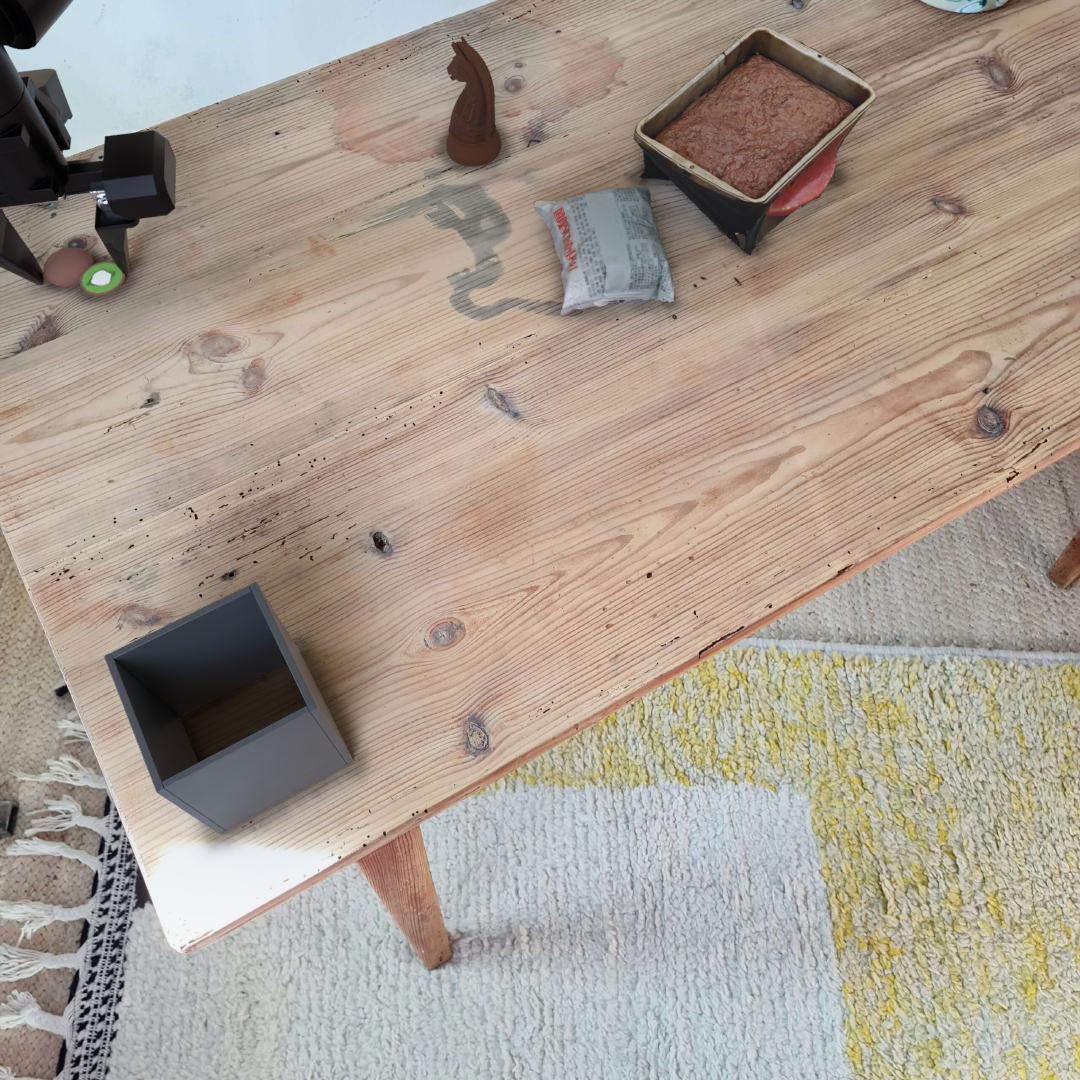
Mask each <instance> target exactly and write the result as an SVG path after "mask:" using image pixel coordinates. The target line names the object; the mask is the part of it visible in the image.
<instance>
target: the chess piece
mask: <svg viewBox="0 0 1080 1080" xmlns="http://www.w3.org/2000/svg"><path fill="white" fill-rule="evenodd" d="M450 46H451V48H452V49H453V52H454V53H455V55H454V56H453V57H452V60H451V61H450V62H449V64H448V65H447V67H446V71H447V74H448V76H449V79H450V80H451V81H457V82H460V83H465V86H464V88H463V89H462V91H461V93H459V96H458V97H457V99H456V101H455V103H454V106H453V108H452V111H451V114H450V122H449V126H448V134H447V137H446V150H447V151H446V153H447V155H448V157H449V158H450V159H451V161H453V162H454V163H456V164H458V165H461V166H462V167H463V166H464V167H469V168H475V167H482V166H485V165H488V164H490V163H492V162H493V161H495V160H496V159H497V158H498V156H499V155H500V153H501V150H502V145H501V144H502V142H501V137H500V134H499V132H498V130H497V125H496V106H495V103H496V96H495V93H496V92H495V85H494V80H493V78H492V75H491V72H490V70H489V67H488V65H487V63H486V62H485V60H484V59H483V57H482V56H481V54H480V53H479V52H478V51H477V50H476V49H475V48H474V47H473V46H472V45H470V44H469V43H468V41H467V40H466V39H465V37H464V35H462V36H460V40H459V41H458V40H457V41H452V42H451V44H450Z"/></svg>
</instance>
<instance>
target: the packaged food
mask: <svg viewBox="0 0 1080 1080" xmlns="http://www.w3.org/2000/svg"><path fill="white" fill-rule="evenodd" d="M651 205H652V194H651V190H650V188H649V187H648V186H630V187H629V186H628V187H618V188H615V187H609V188H605V189H601V190H597V191H590V192H587V193H582V194H579V195H574V196H570V197H566V198H563V199H560V200H558V201H557V200H537V201H535V203H534V207H533V209H534V211H535V212H536V213H537V214H538V216H539V217H540V218H541V219H542V221H544V223H545V224H546V227H547V228H548V229H549V231H550V235H551V237H552V241H553V246H554V249H555V253H556V255H557V256H556V257H557V258H558V260H559V263H560V265H561V266H562V269H561V273H560V278H561V284H562V289H563V293H564V296H563V301H562V307H561V311H560V316H565V315H567V314H568V313H570V312H571V311H573V310H579V311H581V310H585V309H587V308H592V307H593V308H594V307H598V308H600V307H604V306H607V305H608V304H613V303H618V304H619V303H620V304H621V303H622V304H623V303H625V302H630V301H634V300H642V301H648V300H655V302H658V301H661V302H668V303H669V304H670V303H671V302H674V301H675V300H676V289H675V284H674V280H673V275H672V272H671V268H670V265H669V260H668V258H667V254H666V251H665V248H664V245H663V242H662V239H661V236H660V233H659V231H658V230H659V229H658V224H657V221H656V218H655V215H654V212H653V210H652V207H651Z"/></svg>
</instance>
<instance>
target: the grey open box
mask: <svg viewBox="0 0 1080 1080" xmlns="http://www.w3.org/2000/svg"><path fill="white" fill-rule="evenodd" d="M103 658H104V660H105V663H106V665H107V669H108V671H109V674H110V676H111V678H112V681H113V684H114V687H115V689H116V692H117V694H118V696H119V700H120V701H121V704H122V707H123V709H124V712H125V715H126V717H127V720H128V722H129V725H130V727H131V730H132V734H133V735H134V738H135V740H136V743H137V745H138V748H139V751H140V754H141V756H142V759H143V761H144V764H145V766H146V769H147V771H148V774H149V777H150V779H151V782H152V785H153V788H154V790H155V792H156V793H157V794H158V795H159V796H161V797H163V798H164V799H165V800H167V801H169V802H170V803H172V804H173V805H174V806H176V807H178V808H179V809H181V810H182V811H184V812H185V813H187V814H188V815H190V816H191V817H193V818H195V819H196V820H197V821H199V822H200V823H202V824H203V825H205V826H206V827H208V828H209V829H211V830H213V831H214V832H215V833H217V834H218V835H222V834H224V833H227V832H228V831H230V830H231V829H232V830H233V828H235V827H237V826H239V825H240V824H242V823H244V822H246V821H248V820H250V819H251V818H253V817H255V816H258V815H259V814H261V813H263V812H265V811H266V810H268V809H270V808H272V807H274V806H275V805H278V804H280V803H281V802H283V801H284V800H287V799H288V798H290V797H292V796H294V795H296V794H297V793H299V792H301V791H303V790H305V789H306V788H309V787H310V786H313V785H314V784H316V783H318V782H319V781H321V780H323V779H324V778H326V777H328V776H330V775H333V774H334V773H336V772H338V771H339V770H342V769H343V768H345V767H347V766H348V765H351V764H353V763H354V758H353V757H352V755H351V752H350V751H349V748H348V747H347V744H346V742H345V740H344V738H343V735H342V734H341V732H340V729H339V728H338V726H337V724H336V722H335V720H334V717H333V715H332V714H331V712H330V710H329V707H328V706H327V703H326V701H325V699H324V698H323V696H322V693H321V691H320V689H319V687H318V684H317V682H316V681H315V679H314V677H313V675H312V673H311V671H310V669H309V667H308V664H307V662H306V661H305V659H304V657H303V655H302V652H301V651H300V649H299V647H298V645H297V644H296V643H295V640H294V639H293V638H292V636H291V635H290V633H289V631H288V630H287V628H286V627H285V625H284V624H283V622H282V620H281V618H280V617H279V615H278V614H277V613H276V610H275V609H274V608H273V606H272V605H271V603H270V601H269V600H268V598H267V596H266V595H265V593H264V592H263V590H262V589H261V587H260V586H259V584H258V582H257V581H255V582H252V583H251V584H248V585H246V586H244V587H242V588H240V589H238V590H236V591H234V592H231V593H230V594H228V595H226V596H224V597H222V598H219V599H217V600H216V601H213V602H211V603H209V604H207V605H205V606H203V607H201V608H199V609H197V610H194V611H192V612H191V613H189V614H187V615H185V616H182V617H181V618H179V619H176V620H175V621H173V622H170V623H168V624H166V625H164V626H163V627H160V628H158V629H156V630H154V631H152V632H150V633H148V634H146V635H144V636H142V637H140V638H138V639H136V640H134V641H132V642H129V643H128V644H125V645H124V646H121V647H119V648H117V649H115V650H114V651H113V650H112V651H111V652H109V653H107V654H105V655H104V657H103ZM285 665H287V667H288V669H289V671H290V674H291V675H292V678H293V680H294V681H295V684H296V686H297V688H298V690H299V692H300V694H301V696H302V698H303V700H304V703H305V706H304V707H301V708H299V709H297V710H295V711H294V712H292V713H290V714H288V715H287V716H286V715H285V716H284V717H281V719H279V720H277V721H274V722H273V723H271V724H269V725H267V726H265V727H263V728H261V729H260V730H258V731H255V732H254V733H252V734H250V735H248V736H246V737H245V738H243V739H241V740H239V741H237V742H234V743H233V744H231V745H229V746H227V747H225V748H224V749H221V750H220V751H217V752H216V753H214V754H212V755H210V756H208V757H206V758H204V759H202V760H201V761H198V759H197V756H196V754H195V751H194V749H193V746H192V744H191V741H190V739H189V737H188V735H187V732H186V729H185V727H184V725H183V723H182V720H181V718H183V717H185V716H187V715H189V714H191V713H193V712H195V711H197V710H199V709H201V708H202V707H205V706H207V705H208V704H210V703H212V702H214V701H216V700H218V699H220V698H222V697H224V696H226V695H228V694H230V693H232V692H234V691H236V690H238V689H240V688H242V687H243V686H245V685H248V684H250V683H252V682H253V681H256V680H258V679H259V678H261V677H263V676H265V675H267V674H269V673H271V672H273V671H275V670H276V669H278V668H280V667H283V666H285Z"/></svg>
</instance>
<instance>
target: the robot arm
mask: <svg viewBox="0 0 1080 1080" xmlns="http://www.w3.org/2000/svg"><path fill="white" fill-rule="evenodd" d="M73 2H74V0H0V268H2V269H4V270H6V271H8V272H10V273H12V274H14V275H16V276H18V277H20V278H22V279H25V280H26V281H29V282H31V283H32V284H35V285H37V286H43V285H45V279H44V278H43V275H42V274H43V271H44V270H43V269H42V267H41V265H40V262H38V259H37V258H36V256H35V255H34V253H33V252H32V251H31V249H30V247H28V245H27V244H26V242H25V240H23V238H22V236H21V235H20V234H19V232H18V231H17V230H16V228H15V226H14V225H13V224H12V223H11V221H10V219H9V218H8V217H7V215H6V214H5V211H4V209H9V208H10V209H11V208H19V207H26V206H33V205H40V204H41V205H42V204H43V205H44V204H48V203H49V204H50V203H58V202H64V201H65V200H66V199H67V198H68V196H75V195H83V194H90V196H91V199H92V200H93V201H96V202H95V213H94V214H95V215H94V217H95V218H94V230H95V232H96V234H97V235H98V237H99V239H100V240H101V242H102V244H103V245H104V248H105V249H106V251H107V252H108V253H109V255H110V258H111V259H112V262H115V264H116V266H117V267H118V268H119V269H120V270H121V271H122V272H123V273H124V274H125V275H128V274H130V271H131V270H130V268H131V267H130V266H131V262H130V249H129V239H128V229H134V228H135V227H137V226H138V225H140V222H141V220H142V219H150V218H157V217H165V216H168V215H169V214H171V213H172V212H174V211H175V209H176V187H177V184H176V183H177V182H176V181H177V157H176V154H175V152H174V150H173V147H172V144H171V143H170V141H169V139H168V138H167V137H166V136H165V135H163V134H162V133H161V132H160V131H157V130H155V129H152V130H144V131H136V132H128V133H120V134H110V135H105V136H104V142H103V143H104V144H103V149H101V150H97V151H95V152H93V153H92V154H91V155H90V157H89V158H82V159H75V160H67V159H66V157H65V155H64V151H70V150H71V147H72V146H71V145H72V137H71V134H70V133H69V131H68V129H67V127H66V123H67V122H68V120H72V118H73V117H74V116H73V112H72V110H71V107H70V105H69V101H68V99H67V97H66V94H65V91H64V89H63V86H62V84H61V81H60V78H59V76H58V73H57V70H56V69H54V68H40V69H32V70H23V71H18V69H17V68H16V65H15V63H14V62H13V60H12V59H11V56H10V55H9V53H8V51H7V49H6V47H8V48H12V49H16V50H31V49H32V48H35V47H36V46H37V45H38V44H39V42H41V40H42V39H43V38H44V37H45V35H46V34H47V33H48V32H49V30H50V29H51V28H52V27H53V26H54V24H55V23H56V22H57V21H58V20H59V18H60V17H61V16H62V15H63V14H64V13H65V11H67V9H68V8H69V7H70V6H71V4H72V3H73Z"/></svg>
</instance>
